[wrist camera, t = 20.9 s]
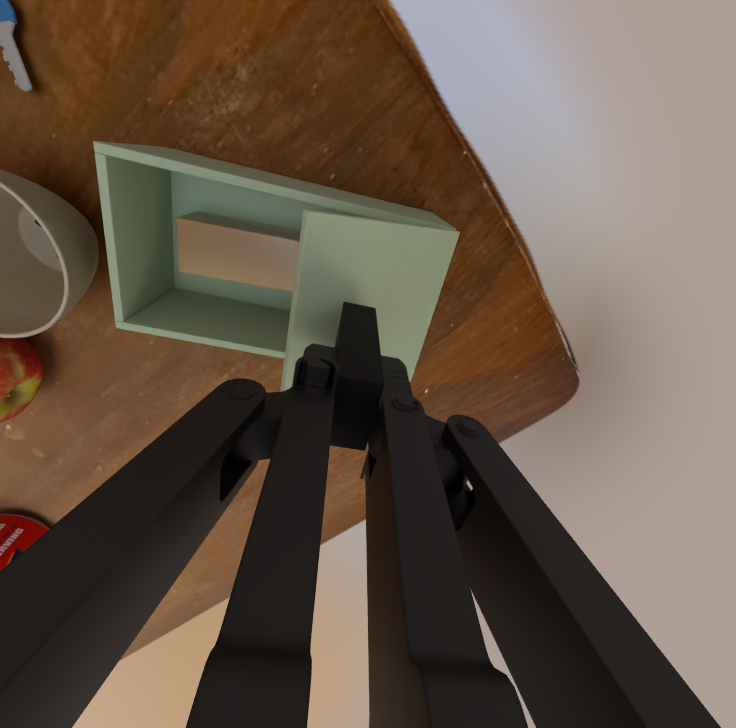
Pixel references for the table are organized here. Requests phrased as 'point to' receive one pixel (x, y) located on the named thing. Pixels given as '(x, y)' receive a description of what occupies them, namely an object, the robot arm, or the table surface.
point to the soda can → (17, 535)
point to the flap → (366, 282)
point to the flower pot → (40, 257)
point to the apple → (18, 376)
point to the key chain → (12, 45)
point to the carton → (160, 249)
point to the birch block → (237, 250)
